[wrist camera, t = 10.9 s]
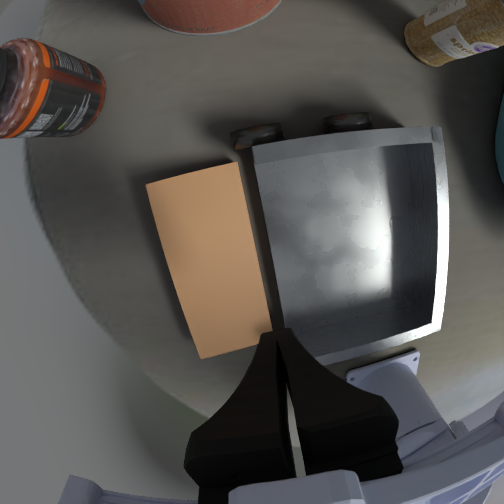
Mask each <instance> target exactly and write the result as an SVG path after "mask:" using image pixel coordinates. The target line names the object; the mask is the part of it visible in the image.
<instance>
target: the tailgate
mask: <svg viewBox="0 0 504 504" xmlns="http://www.w3.org/2000/svg"><path fill="white" fill-rule="evenodd" d="M146 188H147V192H148V196H149V200H150V204H151V208H152V212H153V215H154V219H155V223H156V226H157V230H158V233H159V237H160V240H161V244H162V247H163V251H164V254H165V257H166V261H167V264H168V267H169V270H170V273H171V277H172V280H173V283H174V286H175V289H176V292H177V295H178V298H179V301H180V304H181V307H182V310H183V312H184V315H185V318H186V321H187V324H188V327H189V329H190V332H191V335H192V337H193V340H194V343H195V345H196V348H197V351H198V353H199V356H200V358H201V359H204V358H208V357H212V356H216V355H220V354H224V353H228V352H231V351H235V350H239V349H242V348H246V347H249V346H253V345H256V344H258V343H259V339H260V335H261V334H262V333H265V332H270V331H273V330H272V326H271V321H270V316H269V311H268V306H267V301H266V297H265V292H264V287H263V282H262V277H261V272H260V268H259V263H258V258H257V253H256V248H255V244H254V239H253V234H252V229H251V225H250V220H249V215H248V210H247V206H246V201H245V196H244V191H243V187H242V182H241V177H240V172H239V168H238V163H237V162H233V163H228V164H224V165H219V166H215V167H211V168H206V169H202V170H198V171H194V172H190V173H186V174H182V175H178V176H175V177H171V178H167V179H164V180H160V181H156V182H153V183H149V184H146Z"/></svg>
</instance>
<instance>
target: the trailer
mask: <svg viewBox="0 0 504 504" xmlns="http://www.w3.org/2000/svg"><path fill="white" fill-rule="evenodd" d="M323 122H324V127H325V132H326V135H318V136H311V137H304V138H297V139H291V140H285V141H284V136H283V132H282V127H281V124H280V123H274V124H266V125H259V126H254V127H249V128H245V129H241V130H237V131H234V132H231V133H230V138H231V143H232V147H233V151H235V150H240V149H246V148H250V149H251V154H252V158H253V163H254V168H255V173H256V178H257V183H258V188H259V193H260V198H261V203H262V208H263V213H264V218H265V223H266V228H267V233H268V238H269V244H270V249H271V254H272V259H273V265H274V270H275V275H276V281H277V286H278V291H279V297H280V302H281V308H282V313H283V319H284V325H285V328H291V329H292V330H293V332H294V334H295V336H296V337H297V339H298V340H299V341H300V343H301V344H302V345H303V346H304V347H305V349H306V350H307V351H308V352H309V353H310V354H311V355H312V356H313V357H314V358H315V359H316V360H317V361H318V362H319V363H320V364H322V365H323V366H324V365H329V364H333V363H337V362H341V361H344V360H348V359H352V358H356V357H359V356H363V355H366V354H370V353H373V352H377V351H380V350H383V349H387V348H390V347H393V346H396V345H399V344H402V343H405V342H408V341H411V340H414V339H417V338H419V337H422V336H425V335H428V334H430V333H433V332H436V331H438V330H440V327H441V321H442V314H443V307H444V299H445V290H446V279H447V266H448V247H449V200H448V181H447V168H446V158H445V149H444V141H443V134H442V127H406V128H388V129H375V130H374V128H373V123H372V118H371V113H350V114H342V115H335V116H330V117H326V118H323Z"/></svg>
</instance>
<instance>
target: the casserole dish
mask: <svg viewBox="0 0 504 504" xmlns="http://www.w3.org/2000/svg"><path fill="white" fill-rule="evenodd" d="M495 154H496V162H497V166H498V171H499V174H500V177H501V180H502V182H503V184H504V94H503V98H502V102H501V107H500V112H499V117H498V122H497V129H496V136H495Z"/></svg>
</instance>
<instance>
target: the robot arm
mask: <svg viewBox="0 0 504 504" xmlns="http://www.w3.org/2000/svg"><path fill="white" fill-rule="evenodd" d="M419 356H420V352H419V351H418V350H414V351H411V352H408V353H405V354H402V355H399V356H396V357H393V358H390V359H387V360H384V361H381V362H377V363H374V364H371V365H367V366H364V367H360V368H357V369H353V370H350V371H349V372H348V373H347V375H346V381H344V380H343V379H341V378H339V377H338V376H336V375H335V374H333V373H332V372H330V371H329V370H328V369H326V368H325V367H324V366H323V365H322V364H320V363H319V362H318V361H317V360H316V359H315V358H314V357H313V356H312V355H311V354H310V353H309V352H308V351H307V350H306V349H305V347H304V346H303V345H302V344H301V343H300V341H299V340H298V339H297V337H296V336H295V334H294V332H293V330H292V329H291V328H285V329H280V330H275V331H270V332H265V333H262V334H261V335H260V339H259V343H258V346H257V349H256V352H255V354H254V357H253V359H252V362H251V364H250V366H249V368H248V370H247V372H246V374H245V376H244V377H243V379H242V381H241V382H240V384H239V386H238V387H237V388H236V390H235V391H234V393H233V394H232V395H231V397H230V398H229V399H228V400H227V402H226V403H225V404H224V405H223V406H222V407H221V408H220V409H219V410H218V411H217V412H216V413H215V414H214V415H213V416H212V417H211V418H210V419H209V420H208V421H206V422H205V423H204V424H202V425H201V426H200V427H198V428H197V429H196V430H194V431H193V432H192V433H191V436H190V439H189V442H188V445H187V448H186V453H185V460H184V469H185V470H186V472H187V473H188V474H189V476H190V477H191V478H192V479H193V480H194V481H195V482H196V484H197V485H198V486H199V496H198V500H177V499H164V498H153V497H145V496H137V495H130V494H124V493H118V492H113V491H107V490H103V489H101V487H99V486H98V485H97V484H96V483H94V482H93V481H91V480H88V479H85V478H81V477H77V476H73V475H70V476H69V477H68V480H67V483H66V485H65V488H64V490H63V493H62V495H61V498H60V500H59V503H58V504H484V502H485V501H486V499H487V497H488V495H489V494H490V492H491V490H492V487H493V484H492V483H493V482H494V481H496V480H497V479H498V478H500V477H501V476H502V475H504V402H503V403H502V404H501V405H500V406H499V407H498V409H497V411H496V413H495V416H494V417H493V418H491V419H489V420H488V421H486V422H485V423H483V424H482V425H480V426H478V427H476V428H475V429H473V430H472V431H470V432H469V431H468V429H467V428H466V426H465V425H464V423H463V422H461V421H457V422H456V421H455V420H454V421H452V422H451V423H450V424H449V425H450V427H451V429H452V430H451V429H450V427H449V426H448V425H447V423H446V422H445V421H444V419H443V418H442V417H441V415H440V413H439V412H438V410H437V409H436V407H435V405H434V404H433V402H432V401H431V399H430V397H429V396H428V394H427V393H426V391H425V390H424V388H423V387H422V385H421V383H420V382H419V380H418V379H417V377H416V372H417V367H418V362H419ZM351 378H352V379H351ZM286 383H287V387H288V390H289V394H290V397H291V400H292V404H293V407H294V413H295V419H296V426H297V431H298V436H299V441H300V445H301V450H302V455H303V460H304V465H305V472H306V476H303V477H298V478H297V476H296V470H295V464H294V458H293V451H292V445H291V439H290V432H289V424H288V406H287V387H286ZM452 431H453V432H454V433H453V432H452Z"/></svg>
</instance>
